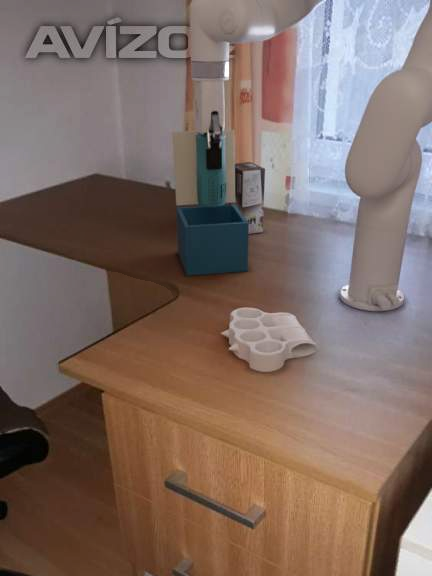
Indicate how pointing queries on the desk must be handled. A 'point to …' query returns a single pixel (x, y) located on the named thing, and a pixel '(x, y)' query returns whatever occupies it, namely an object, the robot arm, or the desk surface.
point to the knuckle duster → (267, 338)
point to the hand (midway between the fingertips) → (211, 164)
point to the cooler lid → (188, 169)
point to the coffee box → (250, 194)
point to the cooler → (212, 239)
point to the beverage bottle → (210, 175)
